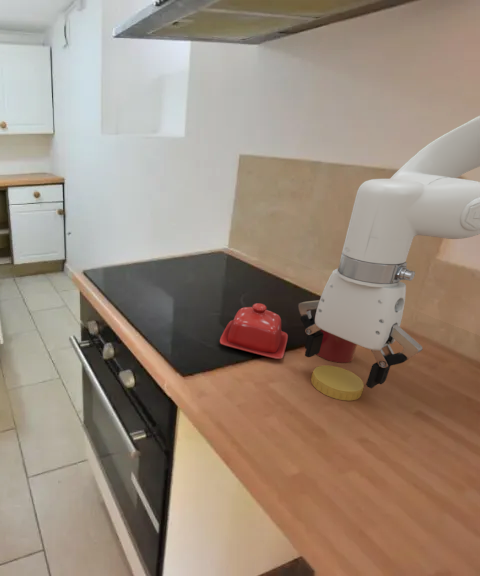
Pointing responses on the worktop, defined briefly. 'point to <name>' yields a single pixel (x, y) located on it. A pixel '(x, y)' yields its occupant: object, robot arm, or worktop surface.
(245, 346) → the butter dish
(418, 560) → the worktop surface
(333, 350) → the jam jar
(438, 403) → the worktop surface
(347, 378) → the lid
